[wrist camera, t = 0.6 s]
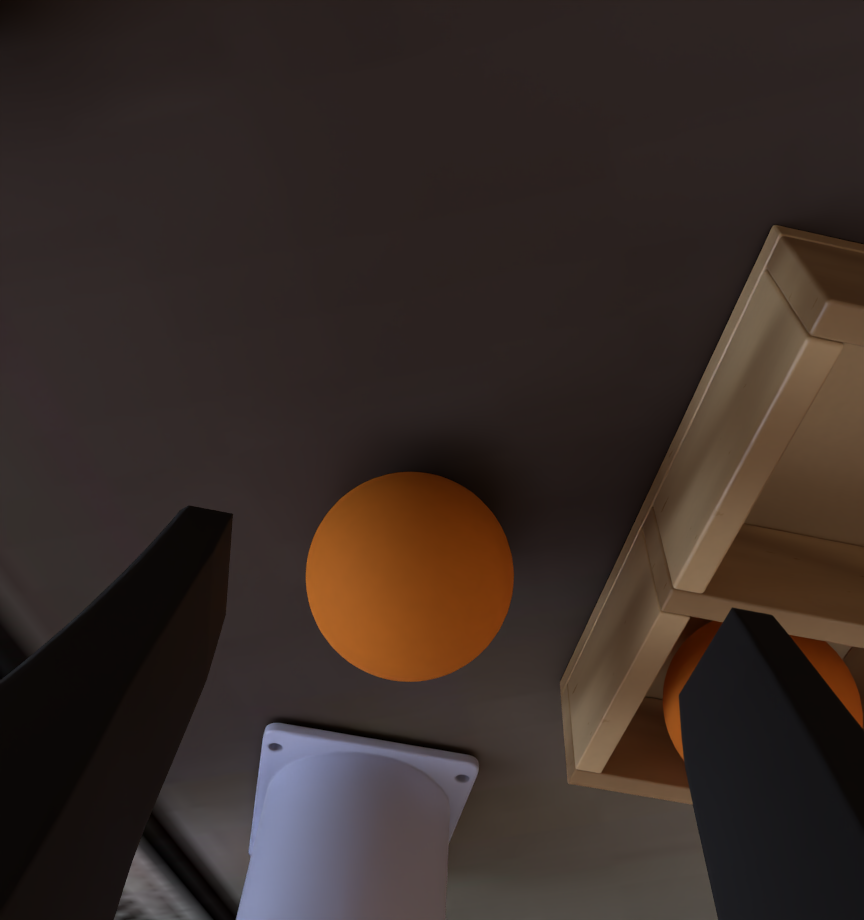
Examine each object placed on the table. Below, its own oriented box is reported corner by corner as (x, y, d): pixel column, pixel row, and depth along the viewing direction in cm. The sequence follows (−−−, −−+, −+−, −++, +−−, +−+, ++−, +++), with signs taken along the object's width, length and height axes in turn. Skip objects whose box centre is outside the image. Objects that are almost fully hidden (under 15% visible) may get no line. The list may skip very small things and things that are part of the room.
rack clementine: (779, 701, 27) (831, 857, 23) (626, 673, 27) (650, 827, 22) (859, 593, 24) (936, 751, 20) (687, 560, 23) (729, 714, 19)
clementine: (486, 589, 26) (486, 741, 21) (314, 557, 25) (278, 705, 21) (533, 452, 22) (543, 599, 18) (336, 413, 22) (299, 553, 18)
